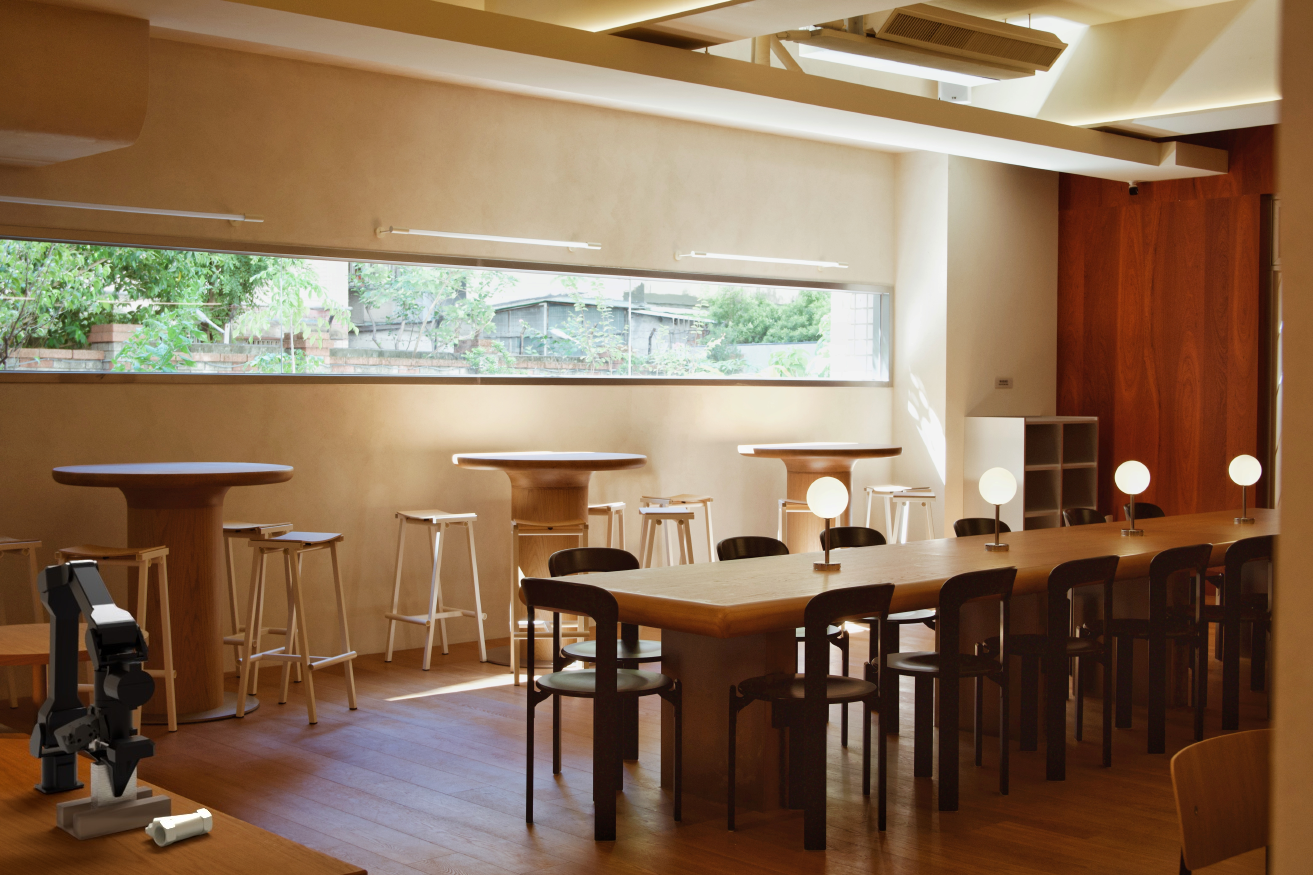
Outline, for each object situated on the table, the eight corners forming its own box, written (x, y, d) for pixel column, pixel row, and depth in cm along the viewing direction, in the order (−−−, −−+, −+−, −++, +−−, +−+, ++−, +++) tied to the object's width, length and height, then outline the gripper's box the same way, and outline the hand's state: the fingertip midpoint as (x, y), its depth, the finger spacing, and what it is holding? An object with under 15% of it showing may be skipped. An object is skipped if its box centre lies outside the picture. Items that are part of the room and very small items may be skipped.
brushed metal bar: (91, 812, 193) (90, 762, 193) (129, 804, 197) (129, 755, 197) (98, 816, 190) (97, 765, 191) (136, 808, 195) (136, 758, 195)
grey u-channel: (56, 825, 192) (56, 803, 192) (145, 806, 202) (145, 785, 202) (80, 840, 185) (80, 817, 185) (171, 819, 195) (171, 798, 195)
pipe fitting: (140, 844, 185) (167, 848, 181) (139, 818, 185) (165, 822, 181) (186, 830, 191) (213, 834, 188) (185, 805, 192) (211, 808, 188)
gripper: (39, 696, 195) (40, 793, 195) (82, 714, 181) (82, 818, 181) (111, 686, 203) (111, 779, 202) (156, 702, 189) (157, 802, 189)
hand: (113, 794), depth 194 cm, fingers closed on brushed metal bar, 3 cm apart
